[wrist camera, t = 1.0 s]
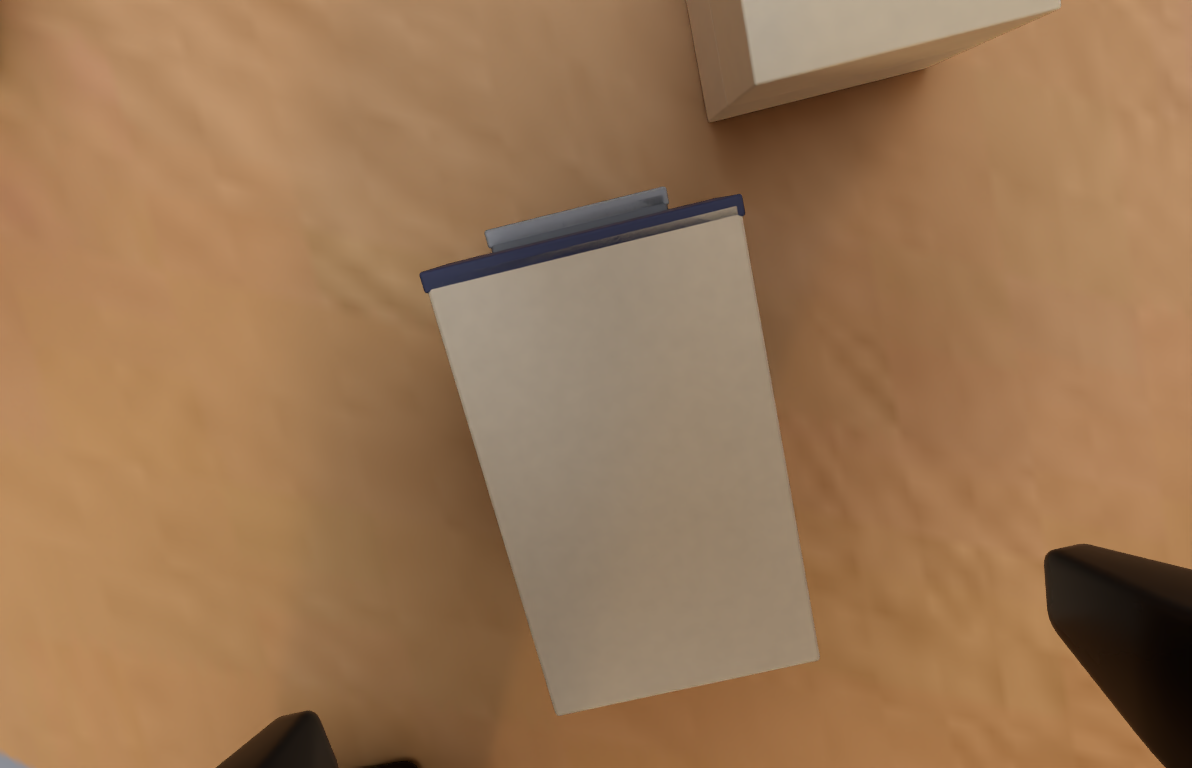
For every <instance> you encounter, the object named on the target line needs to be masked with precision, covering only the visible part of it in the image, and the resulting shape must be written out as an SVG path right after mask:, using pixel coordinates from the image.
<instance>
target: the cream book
mask: <svg viewBox="0 0 1192 768" xmlns="http://www.w3.org/2000/svg"><path fill="white" fill-rule="evenodd" d="M744 215H745V209H744V204H743V198H742V195H741V194H737V195H731V196H725V197H719V198H713V199H709V200H705V201H701V202H697V203H693V204H689V205H685V206H681V207H677V208H673V209H668V210H664V211H660V212H656V213H652V214H648V215H644V216H640V217H636V218H632V219H628V220H624V221H620V222H616V223H612V224H607V225H603V226H599V227H595V228H591V229H587V230H583V231H579V232H575V233H571V234H567V235H563V236H559V237H555V238H551V239H546V240H542V241H538V242H534V243H530V244H526V245H522V246H518V247H514V248H510V249H506V250H502V251H498V252H494V253H490V254H485V255H481V256H477V257H473V258H469V259H465V260H461V261H457V262H453V263H449V264H446V265H442V266H439V267H436V268H433V269H430V270H427V271H423V272H421V273H420V279H421V282H422V285H423V288H424V291H425V293H428V294H429V297H430V300H431V304H432V307H433V310H434V314H435V317H436V320H437V324H438V327H439V330H440V333H441V337H442V340H443V343H444V347H445V350H446V353H447V357H448V360H449V363H450V366H451V370H452V373H453V376H454V380H455V383H456V386H457V390H458V393H459V396H460V400H461V403H462V406H463V409H464V413H465V416H466V419H467V423H468V426H469V429H470V433H471V436H472V439H473V442H474V446H475V449H476V452H477V456H478V459H479V462H480V466H481V469H482V472H483V476H484V479H485V482H486V485H487V489H488V492H489V495H490V499H491V502H492V505H493V509H494V512H495V515H496V518H497V522H498V525H499V528H500V532H501V535H502V538H503V542H504V545H505V548H506V552H507V555H508V558H509V561H510V565H511V568H512V571H513V575H514V578H515V581H516V585H517V588H518V591H519V594H520V598H521V601H522V604H523V608H524V611H525V614H526V618H527V621H528V624H529V628H530V631H531V634H532V637H533V641H534V644H535V647H536V651H537V654H538V657H539V661H540V664H541V667H542V670H543V674H544V677H545V680H546V684H547V687H548V690H549V694H550V697H551V700H552V704H553V707H554V710H555V713H556V714H557V715H558V716H561V715H565V714H570V713H575V712H579V711H584V710H589V709H593V708H598V707H603V706H608V705H612V704H617V703H622V702H626V701H631V700H636V699H640V698H645V697H650V696H654V695H659V694H664V693H668V692H673V691H678V690H682V689H687V688H692V687H697V686H701V685H706V684H711V683H715V682H720V681H725V680H729V679H734V678H739V677H743V676H748V675H753V674H757V673H762V672H767V671H772V670H776V669H781V668H786V667H790V666H795V665H800V664H804V663H809V662H814V661H818V660H819V658H820V654H819V648H818V643H817V637H816V631H815V626H814V620H813V614H812V609H811V603H810V597H809V592H808V586H807V580H806V575H805V569H804V563H803V558H802V552H801V546H800V541H799V535H798V529H797V524H796V518H795V512H794V506H793V501H792V495H791V489H790V484H789V478H788V472H787V467H786V461H785V455H784V450H783V444H782V438H781V433H780V427H779V421H778V416H777V410H776V404H775V399H774V393H773V387H772V382H771V376H770V370H769V365H768V359H767V353H766V348H765V342H764V336H763V331H762V325H761V319H760V314H759V308H758V302H757V297H756V291H755V285H754V279H753V274H752V268H751V262H750V257H749V251H748V245H747V240H746V234H745V228H744V223H743V217H742V216H744Z"/></svg>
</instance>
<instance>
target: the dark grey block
mask: <svg viewBox="0 0 1192 768" xmlns="http://www.w3.org/2000/svg"><path fill="white" fill-rule="evenodd" d="M668 204H669V200H668V195H667V190H666V187H664V186H663V187H659V188H655V189H651V190H647V191H643V192H639V193H635V194H631V195H627V196H623V197H619V198H615V199H610V200H606V201H602V202H598V203H594V204H590V205H586V206H582V207H578V208H574V209H570V210H566V211H562V212H558V213H554V214H550V215H546V216H542V217H538V218H534V219H530V220H526V221H522V222H518V223H514V224H509V225H505V226H501V227H497V228H493V229H489V230H486V231H485V236H486V240H487V244H488V247H489V248H491V249H492V253H494V252H498V251H502V250H506V249H510V248H514V247H518V246H522V245H526V244H530V243H534V242H538V241H542V240H546V239H551V238H555V237H559V236H563V235H567V234H571V233H575V232H579V231H583V230H587V229H591V228H595V227H599V226H603V225H607V224H612V223H616V222H620V221H624V220H628V219H632V218H636V217H640V216H644V215H648V214H652V213H656V212H660V211H664V210H668V207H667V205H668Z"/></svg>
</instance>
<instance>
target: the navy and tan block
mask: <svg viewBox="0 0 1192 768" xmlns="http://www.w3.org/2000/svg"><path fill="white" fill-rule="evenodd" d="M686 4H687V9H688V15H689V20H690V25H691V31H692V36H693V42H694V47H695V53H696V58H697V64H698V69H699V75H700V80H701V86H702V91H703V97H704V102H705V108H706V113H707V119H708V121H709V122H714V121H718V120H722V119H726V118H730V117H734V116H738V115H742V114H746V113H750V112H754V111H758V110H762V109H766V108H770V107H774V106H778V105H782V104H786V103H790V102H794V101H798V100H802V99H806V98H810V97H814V96H818V95H822V94H826V93H830V92H834V91H838V90H842V89H846V88H850V87H854V86H858V85H862V84H866V83H870V82H874V81H877V80H881V79H885V78H889V77H893V76H897V75H901V74H905V73H909V72H913V71H917V70H921V69H925V68H928V67H931V66H933V65H935V64H937V63H940V62H942V61H944V60H946V59H949V58H951V57H953V56H955V55H958V54H960V53H962V52H964V51H967V50H969V49H971V48H973V47H976V46H978V45H980V44H981V43H985V42H987V41H989V40H991V39H994V38H996V37H998V36H1000V35H1003V34H1005V33H1007V32H1009V31H1012V30H1014V29H1016V28H1018V27H1021V26H1023V25H1025V24H1027V23H1030V22H1032V21H1034V20H1036V19H1039V18H1041V17H1043V16H1045V15H1048V14H1050V13H1052V12H1054V11H1056V10H1058V9H1060V7H1061V0H686Z"/></svg>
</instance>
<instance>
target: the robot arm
mask: <svg viewBox="0 0 1192 768" xmlns="http://www.w3.org/2000/svg"><path fill="white" fill-rule="evenodd" d="M1044 570H1045V585H1046V599H1047V611H1048V615H1049V619H1050V621H1051V624H1052V626H1053V627H1054V629H1055V631H1056V632H1057V634H1058V635H1059V636H1060V638H1061V639H1062V640H1063V642H1064V643H1065V644H1066V645H1067V647H1068V648H1069V649H1070V650H1071V652H1072V653H1073V654H1074V655H1075V657H1076V658H1077V659H1078V661H1079V662H1080V663H1081V664H1082V666H1083V667H1084V668H1085V669H1086V671H1087V672H1088V673H1089V674H1090V676H1091V677H1092V678H1093V680H1094V681H1095V682H1096V683H1097V685H1098V686H1099V687H1100V688H1101V690H1102V691H1103V692H1104V693H1105V695H1106V696H1107V697H1108V699H1109V700H1110V701H1111V702H1112V704H1113V705H1114V706H1115V707H1116V709H1117V710H1118V711H1119V712H1120V714H1121V715H1122V716H1123V718H1124V719H1125V720H1126V721H1127V723H1128V724H1129V725H1130V726H1131V728H1132V729H1133V730H1134V731H1135V733H1136V734H1137V735H1138V736H1139V737H1140V739H1141V740H1142V741H1143V742H1144V743H1145V745H1146V746H1147V747H1148V748H1149V749H1150V751H1151V752H1152V753H1153V754H1154V755H1155V756H1156V758H1157V759H1158V760H1159V761H1160V762H1161V763H1162V764H1163V765H1164V766H1165V767H1166V768H1192V570H1191V569H1187V568H1183V567H1179V566H1175V565H1171V564H1166V563H1162V562H1158V561H1154V560H1150V559H1146V558H1142V557H1138V556H1134V555H1130V554H1126V553H1121V552H1117V551H1113V550H1109V549H1105V548H1101V547H1097V546H1093V545H1088V544H1077V545H1073V546H1068V547H1064V548H1059V549H1054V550H1051V551H1050V552H1048V553H1047V555H1046V556H1045V560H1044ZM216 768H338V764H337V760H336V758H335V755H334V753H333V750H332V748H331V745H330V743H329V740H328V738H327V735H326V733H325V730H324V728H323V725H322V723H321V721H320V719H319V717H318V715H317V714H316V713H314V712H312V711H303V712H299V713H294V714H289V715H285V716H281V717H279V718H277V719H276V720H274V721H273V722H272V723H271V724H269V725H268V726H267V727H266V728H264V729H263V730H262V731H261V732H259V733H258V734H257V735H256V736H254V737H253V738H252V739H251V740H250V741H248V742H247V743H246V744H245V745H243V746H242V747H241V748H240V749H238V750H237V751H236V752H235V753H233V754H232V755H231V756H230V757H229V758H227V759H226V760H225V761H224V762H222V763H221V764H220V765H219V766H217V767H216ZM372 768H418V767H417V766H416V765H415V764H413V763H412V762H408V761H400V762H396V763H391V764H386V765H381V766H377V767H372Z"/></svg>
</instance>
